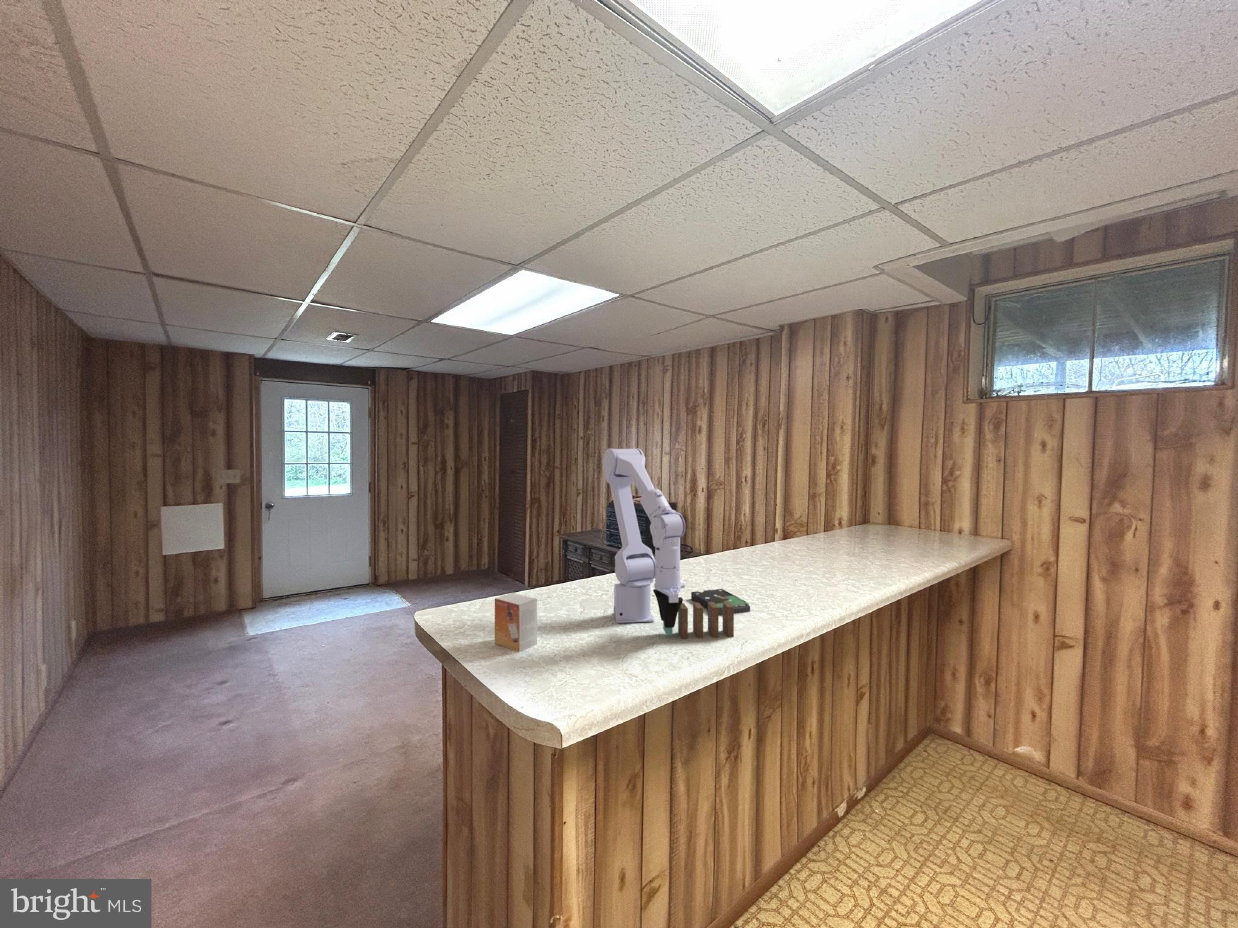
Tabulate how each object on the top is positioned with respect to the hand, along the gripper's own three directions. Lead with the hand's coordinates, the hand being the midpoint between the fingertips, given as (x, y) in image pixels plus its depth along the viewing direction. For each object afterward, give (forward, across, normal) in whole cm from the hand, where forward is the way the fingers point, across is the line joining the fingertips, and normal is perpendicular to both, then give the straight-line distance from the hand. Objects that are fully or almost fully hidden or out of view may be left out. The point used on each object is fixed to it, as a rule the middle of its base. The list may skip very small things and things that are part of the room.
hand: (667, 623), depth 115 cm
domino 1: (+3, 0, -4) cm, 5 cm away
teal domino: (+2, 0, 0) cm, 2 cm away
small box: (+3, -1, +35) cm, 35 cm away
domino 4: (+3, 0, -14) cm, 15 cm away
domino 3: (+3, 0, -11) cm, 11 cm away
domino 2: (+3, 0, -7) cm, 8 cm away
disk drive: (+4, +20, -18) cm, 28 cm away
